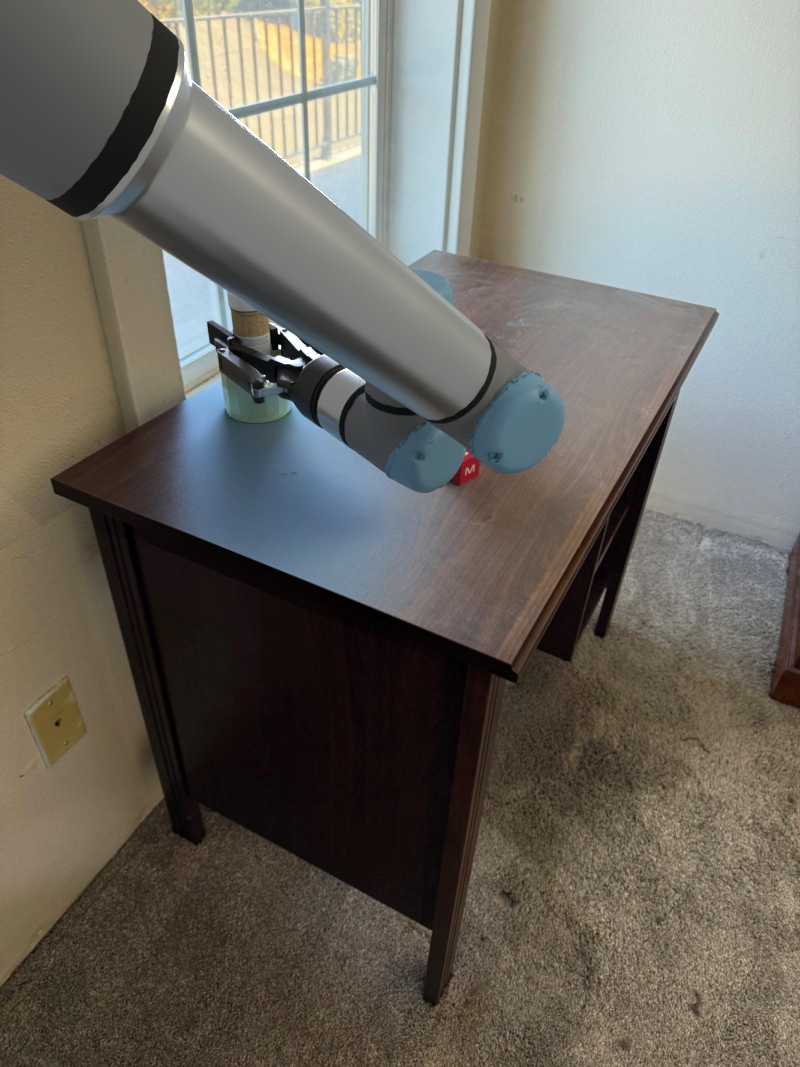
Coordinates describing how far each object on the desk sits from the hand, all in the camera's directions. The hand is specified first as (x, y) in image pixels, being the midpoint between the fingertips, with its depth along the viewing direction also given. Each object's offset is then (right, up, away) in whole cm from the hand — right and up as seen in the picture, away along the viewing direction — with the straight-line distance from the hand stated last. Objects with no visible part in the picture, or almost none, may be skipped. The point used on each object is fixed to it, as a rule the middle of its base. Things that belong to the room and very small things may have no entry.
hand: (229, 326), depth 92 cm
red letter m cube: (+28, -19, -8) cm, 35 cm away
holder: (+3, -10, +2) cm, 10 cm away
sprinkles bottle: (+3, -8, +1) cm, 9 cm away
